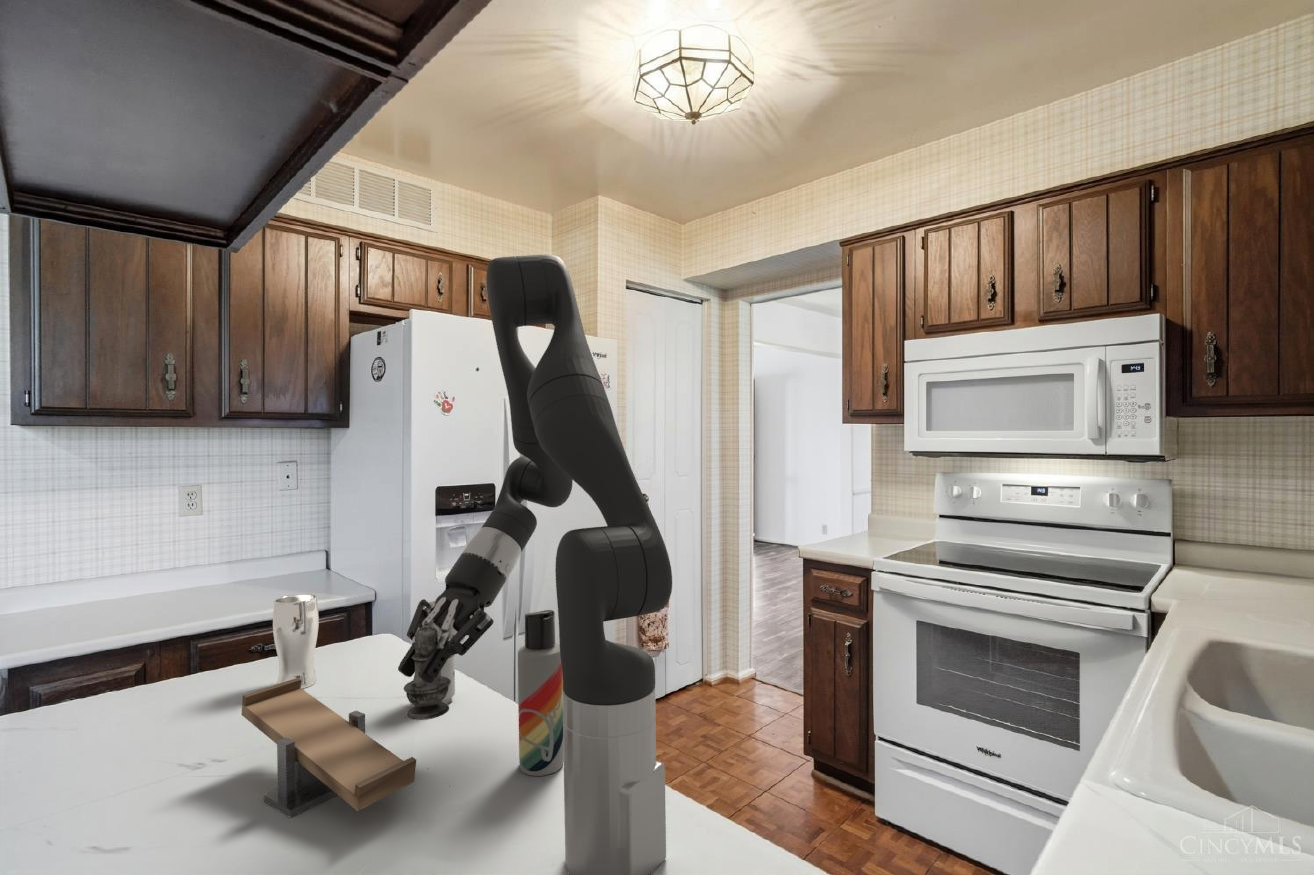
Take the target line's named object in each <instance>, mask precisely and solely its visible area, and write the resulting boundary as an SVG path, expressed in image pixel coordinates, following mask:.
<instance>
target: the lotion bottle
mask: <svg viewBox="0 0 1314 875" xmlns="http://www.w3.org/2000/svg"><path fill="white" fill-rule="evenodd" d="M555 615H556V612H555V611H554V610H552V609H546V610H540V611H535V612H534V611H533V612H529V613H528V612H527V613H524V645H523V646H521V647H520V648H519V649H518V650H517V693H518V694H517V696H518V697H517V700H518V710H517V711H518V760H519V761H518V762H519V763H518V764H519V769H520V771H522V773H523V774H525V775H529V776H533V777H543V776H548V775H552V774H554V773H556V772H558V771H559V770H560V769H561V768H562V767H563V766H564V744H563V674H562V665H561V657H560V643H556V621H555V620H556V616H555Z"/></svg>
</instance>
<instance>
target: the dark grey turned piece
mask: <svg viewBox="0 0 1314 875" xmlns="http://www.w3.org/2000/svg"><path fill="white" fill-rule="evenodd" d="M423 624H424V626H423V627H422V628H420V629H418V630H417V631H416V633H415V654H414V655H413V656H412V659H414V660H415V672H414V674H413V675H414V676H413V679H412V680H411V681H409V682H407V683H406V684H405V685H404V686H403V691H404V692H405V693H406V694H405V695H406V698H407V700H408V702H409V703H410V704H412V705H413V706H412V707H411V708H410V709H409V710H408V711H407V713H406V717H407V718H408V719H410V720H413V721H425V720H432V719H436V718H438V717H441V716H444V715H445V714H446V713H448V712H449V710H450V706H449V704H445V703H443V702H441V701H442V700H443V699H444V698H445V697H446V695H447V692H448V689H449V685H450V683H451V680H450V679H449V678H447V677H442V676H441V674H440V673H439V674H438V676H437V677H436V678H435V679H434V680H433V682H431V683H428V682H425V681H424V680H422V679H421V678H420V677H419V676H418V673H419V671H420V669H421V668H422V666H423V665H424V663H425V661H426V660H427V658H428V657H429V655H430V654H431V652H432V651H433V649H438V648H437V643H438V633H437V630H436V629H435V628H433V627H430V626H428V622H427V620H425V622H424V623H423Z"/></svg>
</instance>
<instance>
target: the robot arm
mask: <svg viewBox="0 0 1314 875" xmlns="http://www.w3.org/2000/svg"><path fill="white" fill-rule="evenodd" d="M486 292H487V293H486V294H487V301H488V306H489V312H490V317H491V323H492V327H493V332H494V337H495V343H496V348H497V352H498V357H499V362H500V366H501V371H502V374H503V378H504V379H503V380H504V383H505V387H506V391H507V395H508V402H509V411H510V412H509V413H510V423H511V434H512V441H513V446H514V449H515V450H516V451H517V452H518V454H520V455H521V456H519V457H517V458H516V459H514V460H513V461H512V462H511V463H510V464H509V466H508V467H507V470H506V472H505V475H504V479H503V482H502V485H501V489H500V492H499V494H498V497H497V499H496V503H495V505H494V508H493V510H492V511H491V513H490V514H489V515H488V517H487V519H486V520H485V521H484V523H483V524H482V526H481V527H480V529H479V530H478V532H476V534H474V536H473V537H472V538H471V539H470V541H468V544H467V545H466V547H465V548H464V550H463V551H462V553H461V554H460V555H459V557H457V560H456V561H455V563H454V564H453V566H452V568H450V570H449V572H448V573H447V575H446V576H445V579H444V583H445V589H444V591H443V592H442V593H441V594H439V595H438V596H437V597H436V599H435V600H433V601H427V600H426V599H421V600H420V601H419V602H418V604H417V607H416V610H415V612H414V615H413V616H412V620H411V622H410V624H409V628H408V629H407V631H406V637H408V638H409V639H410V640H411V642H412V643H411V645H410V647H409V649H408V650H407V652H406V653H405V654H404V656H403V658H402V659H401V660H400V663H399V665H398V667H397V670H398V672H399V673H401V674H402V675H403V676H404V677H407V678H411V677H412V676H413V675H415V660H414V659H412V656H413V655H414V654H415V633H416V631H417V630H418V627H419V628H422V627H423V626H424V624H423V623H424V622H425V620H427V622H428V626H430V627H433V628H435V627H434V626H433V623H434V624H435V625H437V626H438V627H439V628H440V629H438V630H437V629H436V628H435V629H436V630H437V633H438V639H439V641H438V643H437V648H438V649H433V651H432V652H431V654H430V655H429V657H428V658H427V660H426V661H425V663H424V665H423V666H422V668H421V669H420V671H419V673H418V676H419V677H420V678H421V679H422V680H424V681H425V682H428V683H431V682H433V680H434V679H435V678H436V677H437V676H438V674H439V673H440V671H441V669H442V668H443V666H444V664H445V663H446V661H447V660H448V658H451V657H453V656H454V657H455V655H459V656H461V657H462V656H464V655H465V654H466V653H468V651H469V650H470V649H471V648H472V647H473V646H474V645H475V644H476V642H478V640H479V639H480V638H482V636H483V635H484V634H485V633H486V632H487V631H488V630H489V629H490V628H491V627H492V625H493V624H494V619H493V618H492V617H491V615H489V614H488V613H487V612H485V608H489V607H491V606H492V605H493V603H494V601H495V600H496V599H497V597H498V596H499V593H500V591H501V590H502V589H503V587H504V585H505V584H506V582H507V580H508V578H509V577H510V575H511V573H512V572H513V571H514V568H515V567H516V564H517V562H518V560H519V557H520V556H521V554H522V552H523V550H524V549H525V547H526V546H527V544H528V542H529V540H531V538H532V536H533V534H534V533H535V531H536V529H537V525H538V520H537V517H536V515H535V514H534V513H533V511H532V510H530V508H528V507H527V506H525V505H524V504H522V502H523V501H528V502H530V503H534V504H538V505H539V506H540V505H541V506H542V507H543V506H544V507H548V508H558V507H560V506H562V505H563V504H565V503H566V502H567V501H568V499H569V497H570V495H571V494H572V490H573V482H575V483H576V484H577V485H578V486H579V487H580V488H581V489H582V490H583V491H584V492H585V493H586V494H587V495H588V496H589V497H590V498H591V500H592V501H593V502H594V503H595V505H596V506H597V508H598V509H599V511H600V514H601V515H602V517H603V519H604V521H605V523H606V525H607V526H606V525H604V526H594V527H585V528H582V527H581V528H575V529H571V530H569V531H567V532H565V533H564V534H563V535H562V537H561V539H560V540H559V543H558V545H557V550H556V555H555V590H556V602H557V613H558V614H557V616H558V617H557V618H558V633H559V636H558V638H559V639H558V640H559V645H560V657H561V665H562V674H563V744H564V762H563V797H564V798H563V799H564V800H563V802H564V805H563V806H564V807H563V810H564V812H563V813H564V846H565V847H564V849H565V851H564V852H565V855H564V856H565V858H564V859H565V868H566V871H567V873H568V875H650V874H652V873H653V872H654V871H655V870H656V868H658V867H659V866H660V865H661V864H662V863H663V862H664V860H666V859H667V829H666V828H667V827H666V826H667V824H666V823H667V822H666V819H667V818H666V817H667V816H666V815H667V814H666V766H665V764H664V763H663V762H661V761H658V760H657V731H656V730H657V728H656V727H657V725H656V724H657V722H656V721H657V719H656V715H657V712H656V711H657V710H656V705H657V704H656V665H655V661H654V659H653V657H652V656H651V655H650V654H649V653H648V652H646V651H644V650H643V649H641V648H638V647H636V646H632V645H627V644H623V643H618V642H614V641H609V640H607V639H606V634H605V627H604V622H609V621H610V622H611V621H616V620H622V619H628V618H634V617H641V616H644V615H648V614H655V613H657V612H659V611H662V610H663V609H664V608H666V606H667V605H668V603H669V602H670V599H671V596H672V593H673V592H672V591H673V573H672V565H671V562H670V556H669V553H668V549H667V546H666V544H665V541H664V538H663V536H662V533H661V531H660V528H659V526H658V524H657V522H656V520H655V517H654V516H653V513H652V511H651V508H650V507H649V505H648V503H647V501H646V498H645V496H644V494H643V492H642V490H641V488H640V485H639V483H638V481H637V478H636V476H635V474H634V472H633V469H632V467H631V464H630V461H629V459H628V456H627V453H626V451H625V448H624V445H623V441H622V439H621V437H620V433H619V431H618V427H617V424H616V421H615V417H614V414H613V410H612V407H611V403H610V402H609V401H610V400H609V398H608V395H607V393H606V392H607V391H606V390H605V386H604V384H603V381H602V378H601V376H600V373H599V371H598V369H597V365H596V364H595V360H594V357H593V355H592V351H591V349H590V347H589V344H588V341H587V337H586V334H585V330H584V326H583V322H582V318H581V314H580V310H579V307H578V306H579V305H578V301H577V298H576V292H575V290H574V286H573V283H572V279H571V275H570V273H569V270H568V267H567V265H566V264H565V262H564V261H563V260H562V259H561V257H559V256H557V255H552V254H530V255H529V254H528V255H527V254H526V255H516V256H515V255H514V256H512V255H511V256H502V257H500V256H499V257H496V258H493V259H491V260H490V261H489V262H488V265H487V270H486ZM540 325H553V326H554V329H553V332H552V336H551V338H550V341H549V343H548V345H547V347H546V349H545V351H544V352H543V354H542V356H541V357H540V359H539V361H538V363H537V364H536V367H535V365H534V364H533V363H532V362H531V360H530V358H529V357H528V355H527V353H525V351H524V349H523V347H522V345H521V342H520V340H519V336H518V330H517V328H520V327H521V328H522V327H529V326H540ZM466 636H468V638H467V639H466V640H465V638H466ZM449 638H450V639H451V640H450V641H448V640H449Z"/></svg>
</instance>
